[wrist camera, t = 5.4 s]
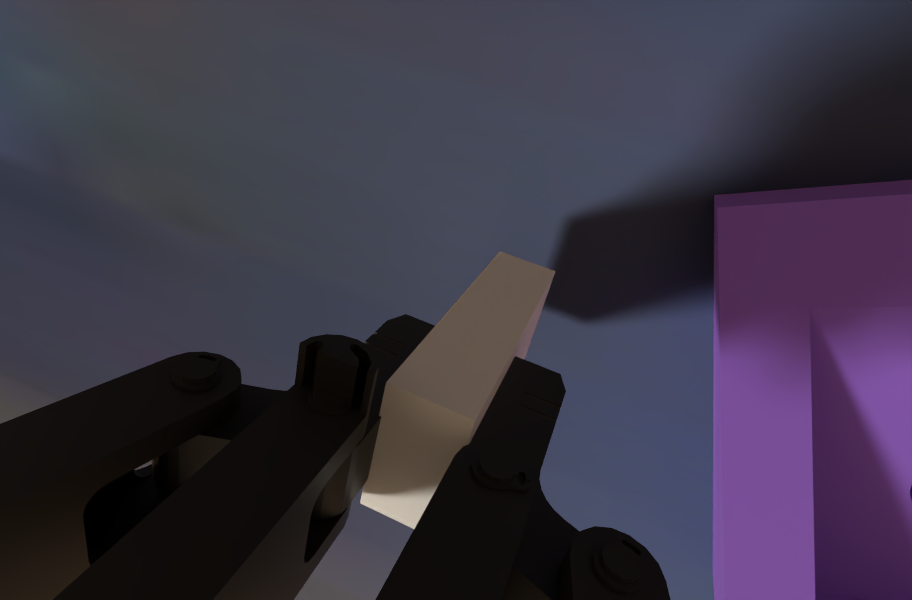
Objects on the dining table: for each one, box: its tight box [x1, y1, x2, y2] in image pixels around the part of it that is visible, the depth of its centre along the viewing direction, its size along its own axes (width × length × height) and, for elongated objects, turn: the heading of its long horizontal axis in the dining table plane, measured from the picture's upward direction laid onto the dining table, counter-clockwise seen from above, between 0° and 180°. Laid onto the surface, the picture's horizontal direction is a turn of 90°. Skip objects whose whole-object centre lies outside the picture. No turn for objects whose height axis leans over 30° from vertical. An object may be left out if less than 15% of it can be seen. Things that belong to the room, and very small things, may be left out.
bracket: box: [713, 180, 912, 600], centre depth 12 cm, size 12×7×7 cm, turn 10°
